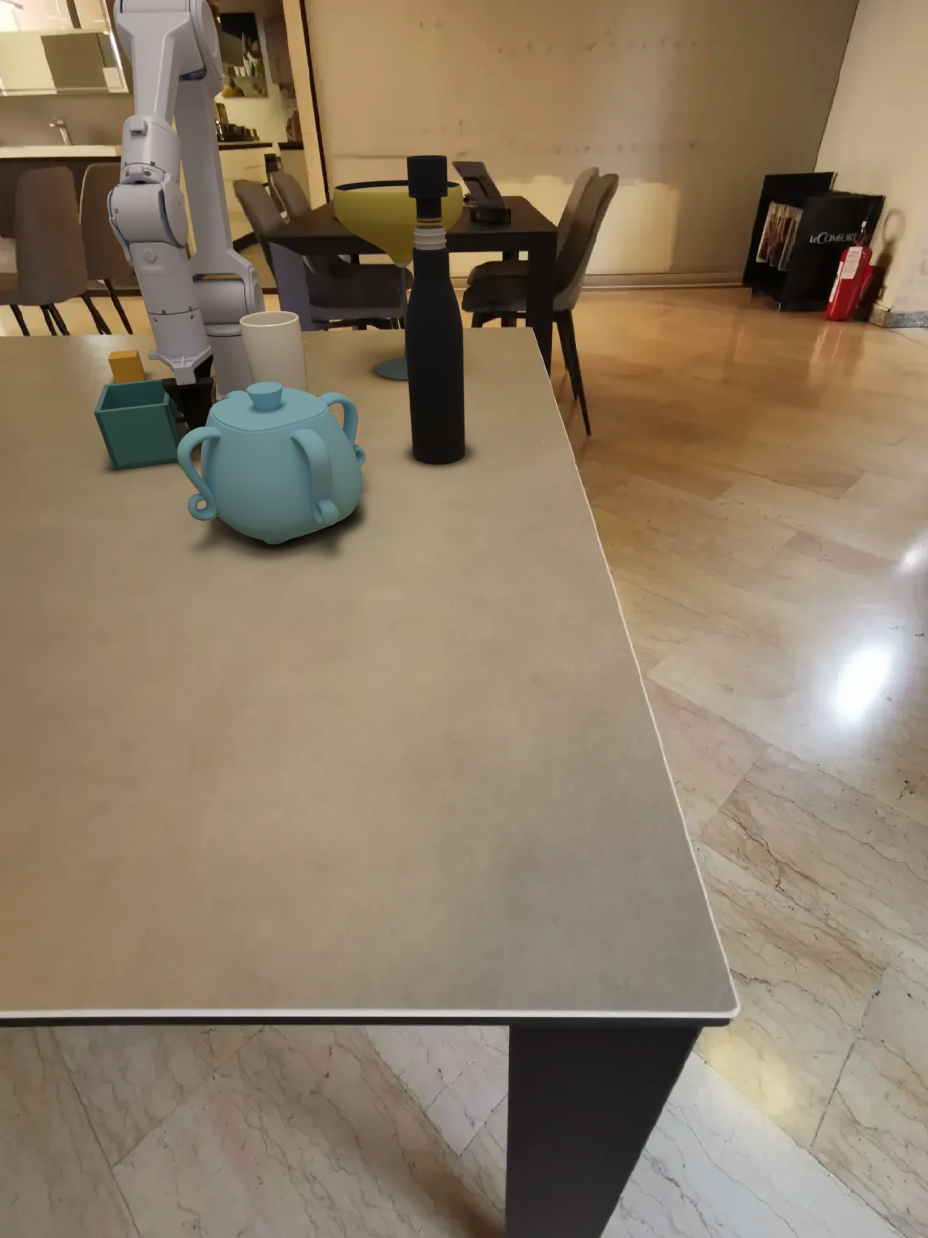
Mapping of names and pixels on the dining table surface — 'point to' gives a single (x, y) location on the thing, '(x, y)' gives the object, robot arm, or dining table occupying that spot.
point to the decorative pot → (275, 462)
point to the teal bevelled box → (139, 424)
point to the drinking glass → (275, 348)
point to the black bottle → (433, 325)
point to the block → (126, 366)
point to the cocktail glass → (390, 230)
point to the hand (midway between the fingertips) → (203, 424)
